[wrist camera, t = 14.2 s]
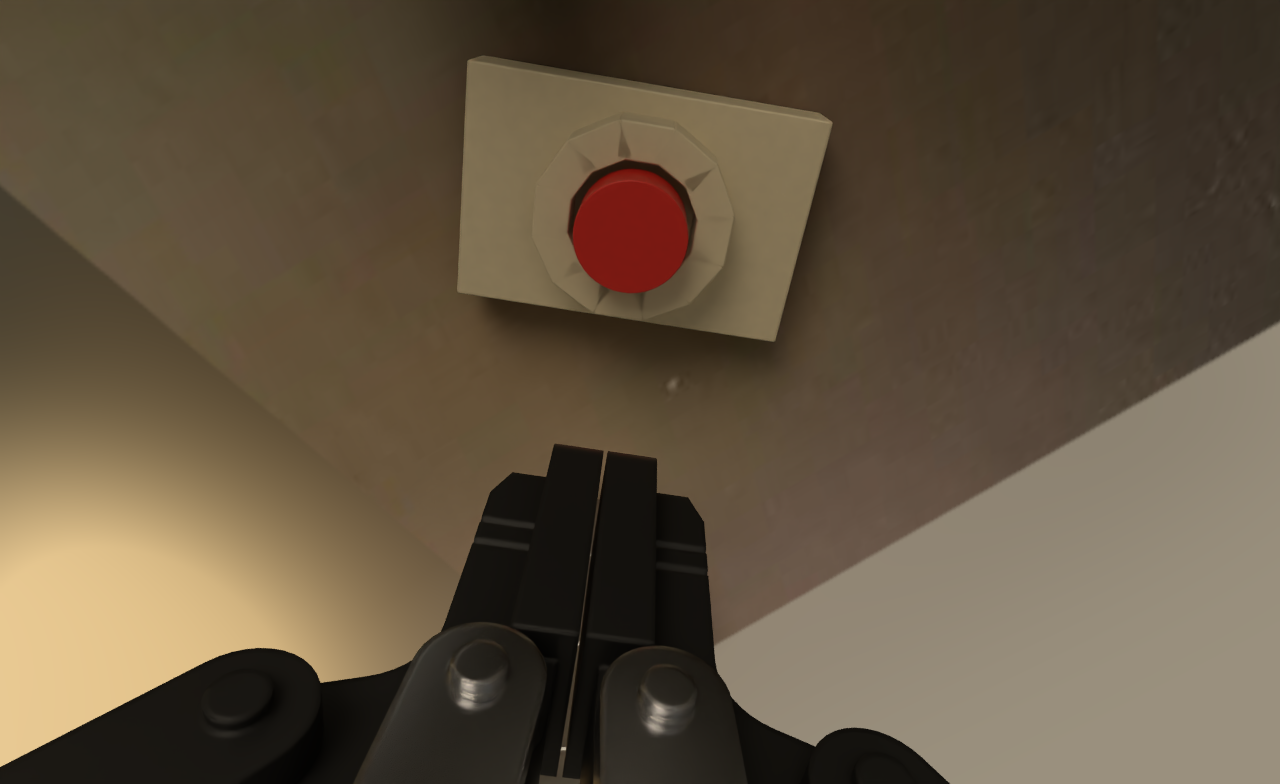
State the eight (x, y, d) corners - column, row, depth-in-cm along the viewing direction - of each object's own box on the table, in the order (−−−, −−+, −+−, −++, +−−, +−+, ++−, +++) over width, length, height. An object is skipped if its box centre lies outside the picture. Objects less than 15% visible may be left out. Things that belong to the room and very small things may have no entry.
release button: (696, 178, 24) (698, 190, 22) (676, 283, 26) (677, 301, 24) (584, 159, 24) (579, 170, 22) (572, 266, 25) (566, 284, 24)
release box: (821, 113, 26) (845, 130, 23) (767, 320, 30) (782, 363, 26) (481, 54, 26) (453, 63, 22) (470, 273, 29) (443, 311, 26)
